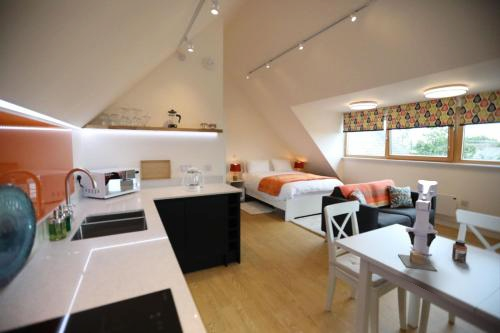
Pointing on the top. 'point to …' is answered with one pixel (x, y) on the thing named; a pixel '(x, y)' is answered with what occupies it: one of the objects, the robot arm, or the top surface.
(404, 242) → the top surface
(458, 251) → the supplement bottle
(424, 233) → the robot arm
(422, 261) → the wooden cube
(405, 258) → the charcoal mat
